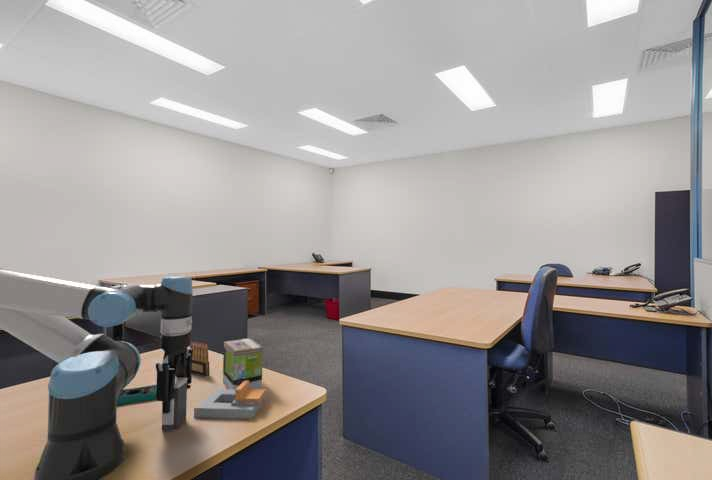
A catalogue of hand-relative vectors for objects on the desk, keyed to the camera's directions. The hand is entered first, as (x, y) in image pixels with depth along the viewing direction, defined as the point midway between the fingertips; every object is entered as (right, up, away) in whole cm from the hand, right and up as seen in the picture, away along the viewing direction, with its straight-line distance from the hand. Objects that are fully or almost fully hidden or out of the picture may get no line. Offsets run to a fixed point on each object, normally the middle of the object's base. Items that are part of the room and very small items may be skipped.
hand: (174, 418), depth 89 cm
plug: (0, -2, 0) cm, 2 cm away
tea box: (+9, -3, +26) cm, 28 cm away
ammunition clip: (-12, -3, +37) cm, 39 cm away
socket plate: (+12, -2, +10) cm, 16 cm away
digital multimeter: (-22, -3, +16) cm, 27 cm away
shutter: (+18, +1, +10) cm, 20 cm away
